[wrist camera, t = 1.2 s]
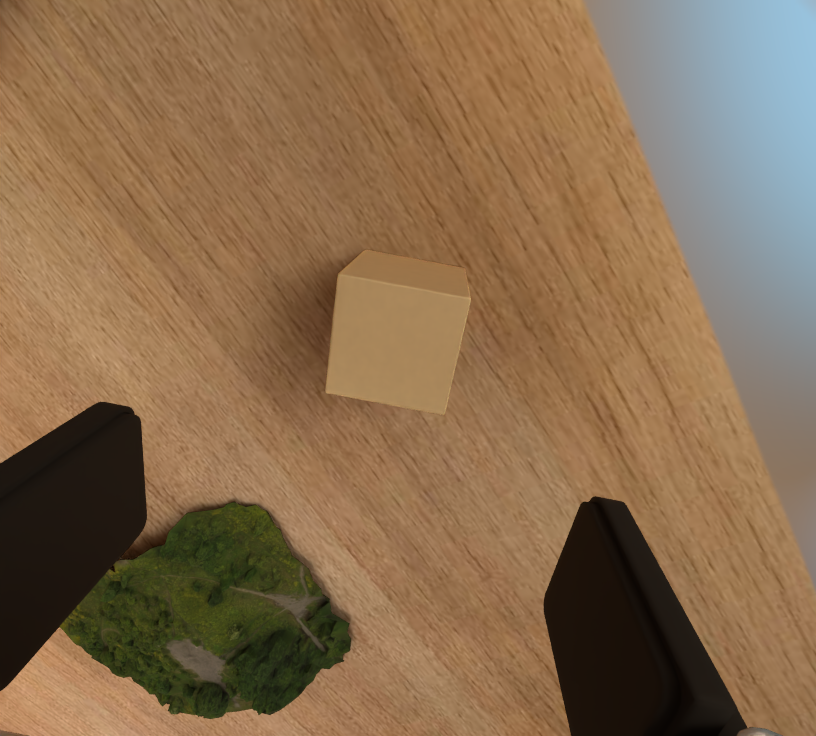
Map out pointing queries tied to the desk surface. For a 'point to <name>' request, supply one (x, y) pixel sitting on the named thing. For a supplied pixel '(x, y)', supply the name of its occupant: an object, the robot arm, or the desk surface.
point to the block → (397, 331)
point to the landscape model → (213, 617)
